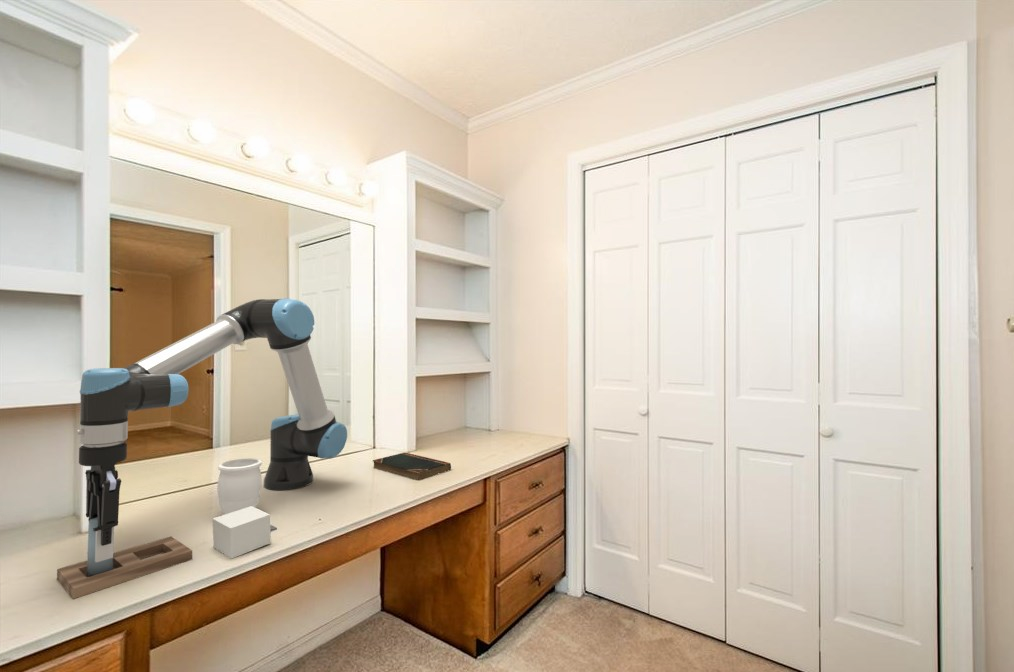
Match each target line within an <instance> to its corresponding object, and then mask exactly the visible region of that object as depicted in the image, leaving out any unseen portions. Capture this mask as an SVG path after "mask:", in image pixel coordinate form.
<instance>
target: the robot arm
mask: <svg viewBox="0 0 1014 672" xmlns="http://www.w3.org/2000/svg"><path fill="white" fill-rule="evenodd" d="M314 326H315V317H314V314H313V311H312V310H311V308H310V307H309V306H308V305H307V304H306V303H305V302H303V301H301V300H298V299H291V298H279V299H278V298H274V299H273V298H272V299H271V298H270V299H267V298H266V299H265V298H264V299H262V298H261V299H254V300H251V301H248V302H245V303H244V304H243V303H242V304H240V305H238V306H236V307H234V308H232V309H230V310H228V311H226V312H224V313H222V314H221V315H218V317H217V318H216V321H215V322H212V323H210V324H208V325H207V326H205V327H202V328H201V329H199V330H197V331H195V332H193V333H191V334H189V335H186V336H185V337H183V338H181V339H179V340H177V341H175V342H173V343H172V344H169V345H167V346H166V347H163V348H162V349H160V350H158V351H156V352H154V353H152V354H150V355H148V356H146V357H144V358H142V359H140V360H138V361H137V362H134V363H132V364H130V365H127V366H125V367H122V368H121V367H107V368H106V367H105V368H104V367H102V368H101V367H100V368H99V367H98V368H90V369H86V370H85V371H84V372H83V373H82V374H81V375H82V376H81V381H80V390H79V394H80V406H79V407H80V412H79V413H80V418H79V419H80V421H79V424H80V426H79V429H77V430H76V431H75V433H76V435H79V444H80V445H81V446H80V447H79V448H78V464H79V465H80V466H83V467H90V469H86V470H85V472H84V473H85V480H86V487H85V488H86V490H85V491H86V492H85V494H86V496H85V497H86V500H85V501H86V503H85V504H86V507H85V508H86V510H85V511H86V513H85V516H86V518H88V519H87V520H88V522H89V520H91V519H93V518H96V517H98V527H96V528H93V531H94V532H95V531H96V538H95V562H100V561H103V560H106V559H110V558H113V553H114V545H113V539H115V538H114V537H115V536H114V535H115V527H118V525H119V512H120V511H119V509H120V507H119V506H120V490H121V484H122V479H121V478H119V472H118V470H116V466H115V465H116V464H118V463H121V462H123V461H125V460H126V459H127V457H128V456H127V455H128V443H127V442H126V440H127V439H128V437H129V436H128V434H129V420H128V419H129V418H128V417H129V412H136V411H142V410H143V411H144V410H151V409H159V408H168V409H169V408H170V407H174V406H180V405H182V404H183V403H185V402H186V400H187V399H188V396H189V388H190V387H189V384H188V381H187V379H186V378H185V377H184V376H183V375H181V373H183V372H185V371H186V370H188V369H190V368H192V367H194V366H195V365H197V364H199V363H201V362H202V361H204V360H206V359H207V358H209V357H211V356H213V355H214V354H217V353H218V352H220V351H222V350H223V349H226V348H228V347H229V346H231V345H239V344H241V343H243V342H245V341H249V340H251V339H258V338H260V339H261V338H262V339H263V338H264V339H267V342H268V345H269V347H270V349H271V350H272V351H275V352H276V353H277V354H278V357H279V360H280V363H281V366H282V369H283V372H284V375H285V379H286V381H287V384H288V387H289V390H290V392H291V393H290V394H291V395H292V396H291V397H292V400H293V402H294V405H295V407H296V412H297V414H289V415H284V416H283V415H282V416H279V417H275V418H274V419H272V421H271V424H270V425H271V426H270V444H269V445H270V456H269V458H270V460H269V461H270V462H269V464H268V467H267V469H266V471H265V472H266V473H265V475H264V479H263V487H264V488H265V489H268V490H273V491H287V490H295V489H299V488H303V487H307V486H309V485H310V484H312V483H313V482H314V474H313V470H312V468H311V465H310V461H309V457H313V458H319V459H333V458H335V457H337V456H338V455H339V454H340V453H341V452H342V451H343V449H344V448H345V445H346V443H347V440H348V429H347V427H346V424H343V423H342V422H338V421H337V419H336V416H335V413H334V411H332V410H330V409H328V408H327V407H328V406H327V404H326V401H325V397H324V394H323V391H322V387H321V384H320V381H319V378H318V374H317V371H316V368H315V364H314V361H313V358H312V355H311V351H310V348H309V347H310V346H309V345H308V344H309V342H310V341H311V340H312V336H311V334H312V333H313V331H314Z"/></svg>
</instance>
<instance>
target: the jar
mask: <svg viewBox="0 0 1014 672" xmlns="http://www.w3.org/2000/svg"><path fill="white" fill-rule="evenodd" d="M262 462H263V461H262V459H259V458H253V457H252V458H238V459H230V460H227V461H223V462H221V463H219V464H218V467H217V469H218V471H220V472H219V474H218V475H219V476H218V480H217V496H218V502H219V507H220V510H221V511H222V513H223V514H222V515H225V514H228V513H231V512H235V511H238V510H241V509H244V508H247V507H250V506H253V507H255V508H257V505H258V503H259V500H260V499H259V498H260V493H261V490H262V483H263V482H262V480H263V479H262V472H261V471H262V470H261V468H260V467H261V466H262V464H263V463H262Z"/></svg>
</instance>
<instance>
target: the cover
mask: <svg viewBox="0 0 1014 672" xmlns="http://www.w3.org/2000/svg"><path fill="white" fill-rule="evenodd" d="M270 525H271V514H269V513H268V512H265V511H263V510H261V509H259V508H257V507H253V506H250V507H247V508H244V509H241V510H238V511H235V512H231V513H228V514H225V515H223V514H222V515H219V516H216V517H213V518H212V536H213V538H212V541H213V546H212V547H213V548H214V549H215V548H216V549H215V550H216V551H218V550H219V551H218V552H220V553H221V552H222V553H221V554H223V553H224V554H223V555H225V556H226V557H228V558H229V559H234V558H236V557H240V556H241V555H244V554H246V553H249V552H251V551H254V550H257V549H259V548H262V547H264V546H266V545H270V544H271V543H272V541H271V540H272V539H271V537H272V536H271V535H272V534H271V533H272V531H270Z"/></svg>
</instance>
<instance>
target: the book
mask: <svg viewBox="0 0 1014 672" xmlns="http://www.w3.org/2000/svg"><path fill="white" fill-rule="evenodd" d="M372 462H373V469H375V470H379V471H382V472H386V473H389V474H393V475H396V476H400V477H403V478H407V479H410V480H415V481H421V480H424V479H426V478H427V479H428V478H431V477H433V475H434V476H436V475H435V474H437V475H439V474H438V473H440V474H442V472H443V473H446V472H449V471H451V469H452V465H451V462H447V461H445V460H439V459H435V458H430V457H426V456H421V455H418V454H414V453H411V452H410V453H409V452H401V453H397V454H393V455H388V456H386V457H380V458H376V459H372ZM448 470H449V471H448ZM445 471H446V472H445Z"/></svg>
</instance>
